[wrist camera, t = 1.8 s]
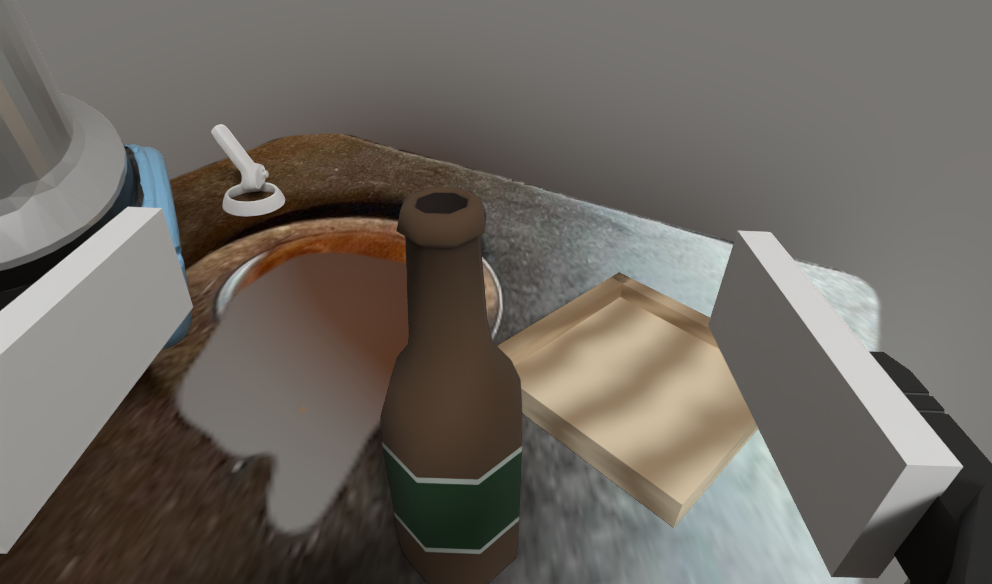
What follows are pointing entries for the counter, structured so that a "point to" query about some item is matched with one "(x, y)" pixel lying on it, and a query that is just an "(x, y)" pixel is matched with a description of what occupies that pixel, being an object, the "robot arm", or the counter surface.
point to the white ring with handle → (246, 179)
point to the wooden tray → (634, 392)
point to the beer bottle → (452, 403)
